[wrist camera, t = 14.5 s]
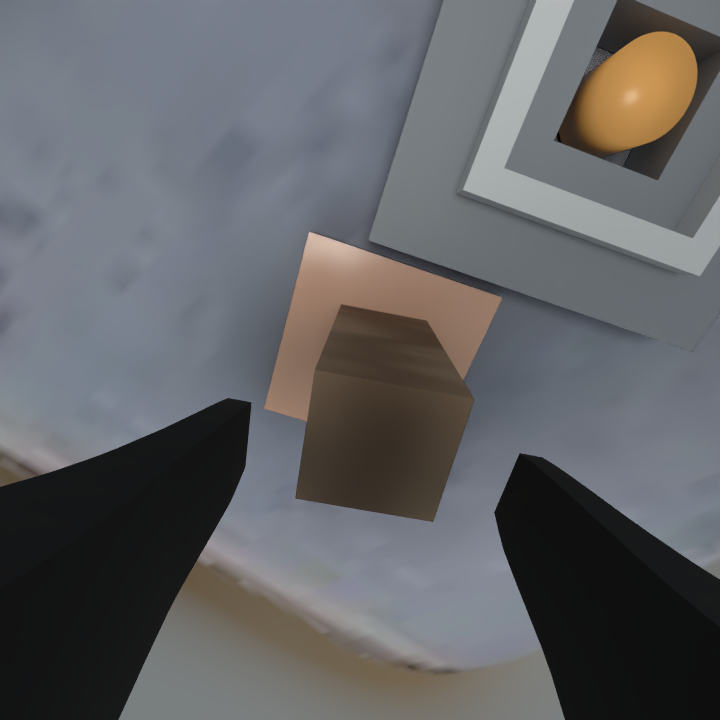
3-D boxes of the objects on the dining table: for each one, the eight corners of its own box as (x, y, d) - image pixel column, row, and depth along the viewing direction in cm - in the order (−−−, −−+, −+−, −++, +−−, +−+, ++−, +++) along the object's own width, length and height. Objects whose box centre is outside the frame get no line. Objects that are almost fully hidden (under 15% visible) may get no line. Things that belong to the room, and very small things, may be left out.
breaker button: (656, 84, 13) (718, 52, 11) (611, 170, 14) (659, 158, 12) (584, 54, 13) (631, 15, 10) (544, 144, 14) (578, 127, 12)
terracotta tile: (498, 295, 16) (502, 297, 16) (425, 450, 19) (427, 457, 19) (311, 231, 15) (309, 231, 15) (267, 403, 19) (263, 408, 18)
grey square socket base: (890, -42, 12) (1087, -145, 9) (647, 335, 17) (715, 360, 13) (512, -220, 11) (574, -417, 7) (368, 238, 16) (367, 241, 12)
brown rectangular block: (426, 320, 16) (474, 399, 9) (406, 396, 18) (433, 522, 10) (341, 304, 16) (314, 369, 8) (328, 382, 17) (295, 498, 10)
